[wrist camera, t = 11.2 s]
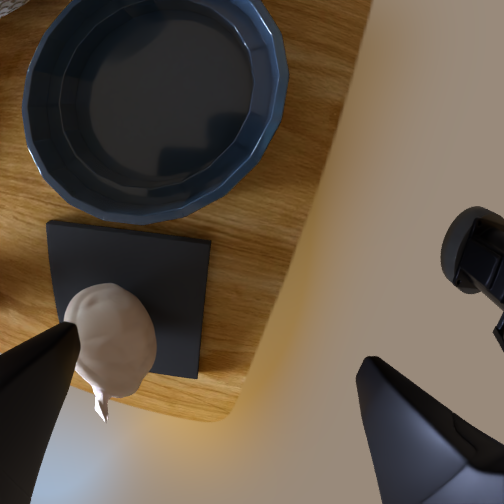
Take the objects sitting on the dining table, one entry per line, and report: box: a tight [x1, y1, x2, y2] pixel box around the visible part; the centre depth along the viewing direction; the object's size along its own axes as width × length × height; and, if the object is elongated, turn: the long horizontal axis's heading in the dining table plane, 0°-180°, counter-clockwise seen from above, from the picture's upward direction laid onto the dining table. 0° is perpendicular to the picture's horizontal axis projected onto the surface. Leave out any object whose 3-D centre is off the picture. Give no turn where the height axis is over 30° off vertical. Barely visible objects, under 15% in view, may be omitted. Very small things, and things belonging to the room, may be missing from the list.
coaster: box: [46, 220, 211, 379], centre depth 21 cm, size 12×12×1 cm
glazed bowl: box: [22, 0, 289, 225], centre depth 14 cm, size 14×14×4 cm
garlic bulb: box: [64, 283, 157, 422], centre depth 17 cm, size 7×6×8 cm
